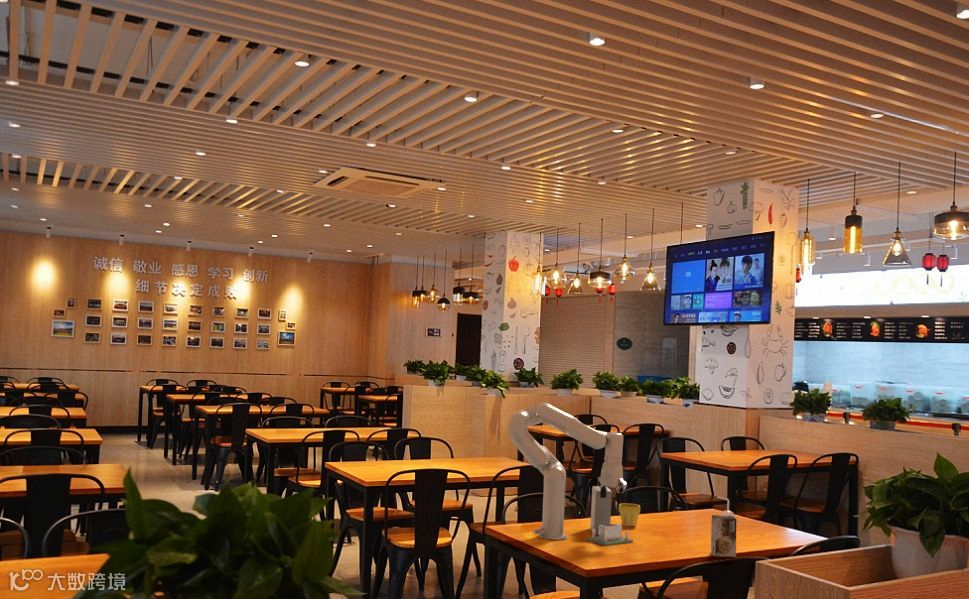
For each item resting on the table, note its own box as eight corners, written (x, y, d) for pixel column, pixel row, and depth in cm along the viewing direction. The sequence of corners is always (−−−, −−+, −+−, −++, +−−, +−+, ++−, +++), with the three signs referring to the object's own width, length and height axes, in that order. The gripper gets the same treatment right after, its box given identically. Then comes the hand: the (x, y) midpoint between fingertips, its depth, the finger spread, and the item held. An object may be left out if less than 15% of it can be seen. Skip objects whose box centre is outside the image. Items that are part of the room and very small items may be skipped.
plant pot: (613, 524, 417) (614, 503, 417) (628, 522, 423) (629, 502, 423) (629, 528, 408) (629, 507, 409) (644, 526, 414) (644, 506, 415)
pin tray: (604, 545, 367) (605, 534, 367) (587, 540, 376) (587, 528, 376) (632, 542, 377) (633, 530, 377) (615, 537, 386) (615, 526, 386)
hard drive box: (610, 536, 388) (612, 491, 389) (593, 535, 388) (595, 490, 390) (606, 529, 404) (607, 486, 405) (589, 528, 404) (591, 485, 405)
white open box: (604, 540, 372) (605, 526, 373) (598, 538, 376) (598, 524, 376) (621, 539, 378) (622, 525, 378) (615, 537, 381) (615, 523, 381)
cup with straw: (733, 544, 384) (734, 499, 386) (713, 540, 389) (715, 496, 390) (738, 541, 391) (740, 497, 393) (719, 538, 396) (720, 494, 398)
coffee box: (731, 553, 364) (732, 515, 366) (736, 557, 358) (737, 518, 359) (710, 552, 364) (711, 514, 365) (714, 556, 358) (715, 517, 359)
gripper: (593, 458, 383) (591, 496, 382) (621, 463, 369) (618, 503, 368) (605, 457, 388) (603, 495, 387) (633, 463, 374) (630, 503, 373)
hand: (610, 499), depth 378 cm, fingers open, 9 cm apart
